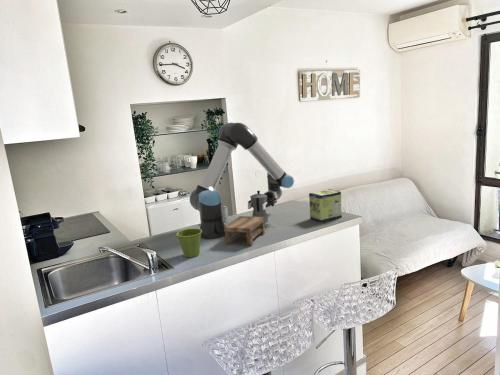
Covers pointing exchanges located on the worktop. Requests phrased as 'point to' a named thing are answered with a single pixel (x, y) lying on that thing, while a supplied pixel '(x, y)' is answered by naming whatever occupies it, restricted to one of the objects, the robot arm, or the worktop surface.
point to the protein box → (325, 205)
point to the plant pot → (190, 241)
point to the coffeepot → (259, 205)
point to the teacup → (224, 213)
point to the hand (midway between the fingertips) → (255, 207)
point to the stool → (244, 228)
